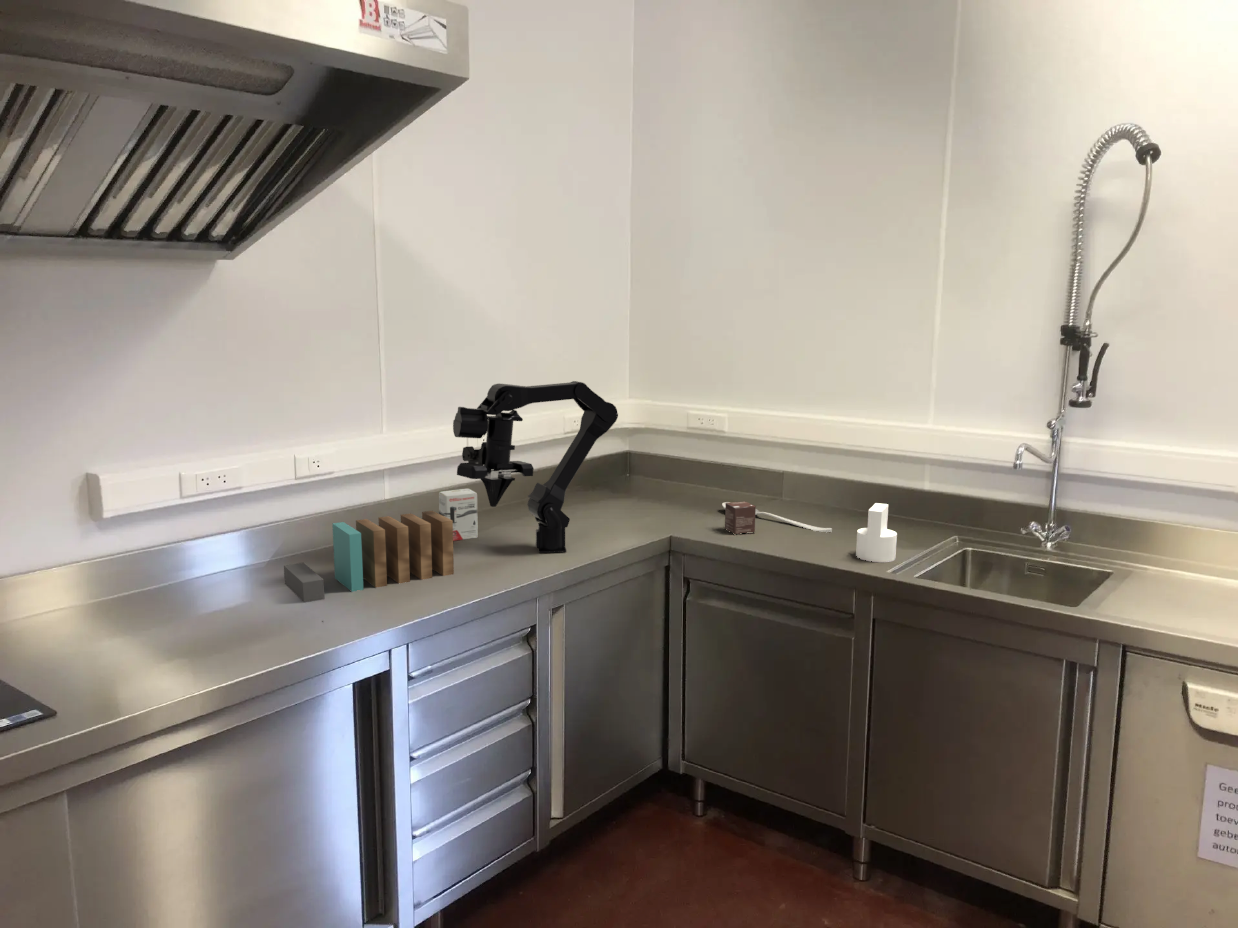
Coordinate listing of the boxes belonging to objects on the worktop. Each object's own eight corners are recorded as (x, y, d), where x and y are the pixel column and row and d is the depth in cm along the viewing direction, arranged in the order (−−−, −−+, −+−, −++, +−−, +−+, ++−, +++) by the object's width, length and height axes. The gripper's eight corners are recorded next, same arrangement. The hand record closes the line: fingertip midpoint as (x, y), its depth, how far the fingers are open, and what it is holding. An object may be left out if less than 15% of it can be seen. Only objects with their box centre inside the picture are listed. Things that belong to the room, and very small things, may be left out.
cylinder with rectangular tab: (860, 549, 220) (863, 501, 217) (898, 554, 216) (901, 505, 214) (852, 559, 212) (855, 509, 210) (891, 564, 208) (895, 513, 206)
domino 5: (433, 562, 206) (432, 510, 204) (453, 574, 197) (452, 520, 195) (423, 563, 204) (422, 511, 202) (443, 575, 195) (442, 521, 193)
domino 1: (346, 576, 195) (343, 521, 192) (363, 589, 186) (361, 533, 184) (334, 578, 193) (332, 523, 191) (351, 591, 184) (349, 534, 182)
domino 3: (391, 568, 200) (389, 516, 198) (409, 581, 191) (408, 526, 189) (380, 570, 199) (378, 517, 197) (399, 583, 190) (397, 528, 188)
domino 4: (412, 565, 203) (410, 513, 201) (432, 577, 194) (430, 523, 192) (402, 567, 202) (400, 514, 199) (421, 579, 193) (419, 524, 191)
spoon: (714, 513, 257) (715, 504, 256) (731, 508, 262) (732, 499, 262) (822, 541, 233) (823, 531, 233) (838, 535, 239) (839, 525, 238)
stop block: (304, 580, 191) (303, 562, 190) (324, 598, 180) (323, 579, 179) (284, 583, 189) (283, 565, 188) (303, 602, 177) (302, 582, 177)
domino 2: (368, 572, 197) (366, 519, 195) (387, 585, 188) (385, 529, 186) (358, 574, 196) (355, 520, 194) (375, 587, 187) (373, 531, 185)
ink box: (446, 542, 222) (445, 495, 220) (438, 537, 227) (437, 491, 224) (478, 537, 227) (477, 491, 225) (470, 533, 231) (469, 488, 229)
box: (745, 528, 240) (746, 501, 238) (755, 533, 234) (756, 506, 233) (724, 529, 238) (724, 502, 236) (733, 535, 232) (734, 507, 231)
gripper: (505, 434, 218) (500, 497, 221) (444, 434, 204) (438, 502, 206) (537, 441, 211) (531, 506, 213) (476, 441, 197) (470, 512, 199)
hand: (493, 506), depth 208 cm, fingers closed
